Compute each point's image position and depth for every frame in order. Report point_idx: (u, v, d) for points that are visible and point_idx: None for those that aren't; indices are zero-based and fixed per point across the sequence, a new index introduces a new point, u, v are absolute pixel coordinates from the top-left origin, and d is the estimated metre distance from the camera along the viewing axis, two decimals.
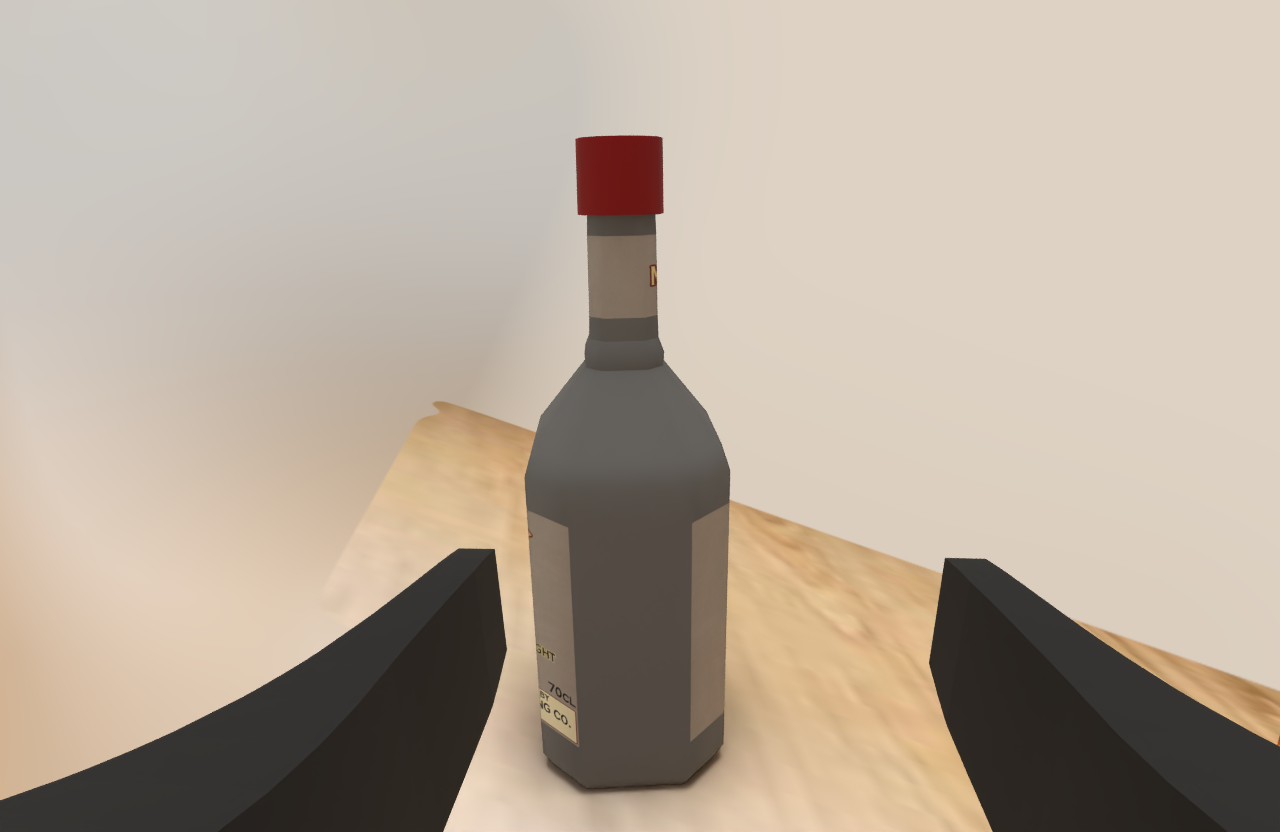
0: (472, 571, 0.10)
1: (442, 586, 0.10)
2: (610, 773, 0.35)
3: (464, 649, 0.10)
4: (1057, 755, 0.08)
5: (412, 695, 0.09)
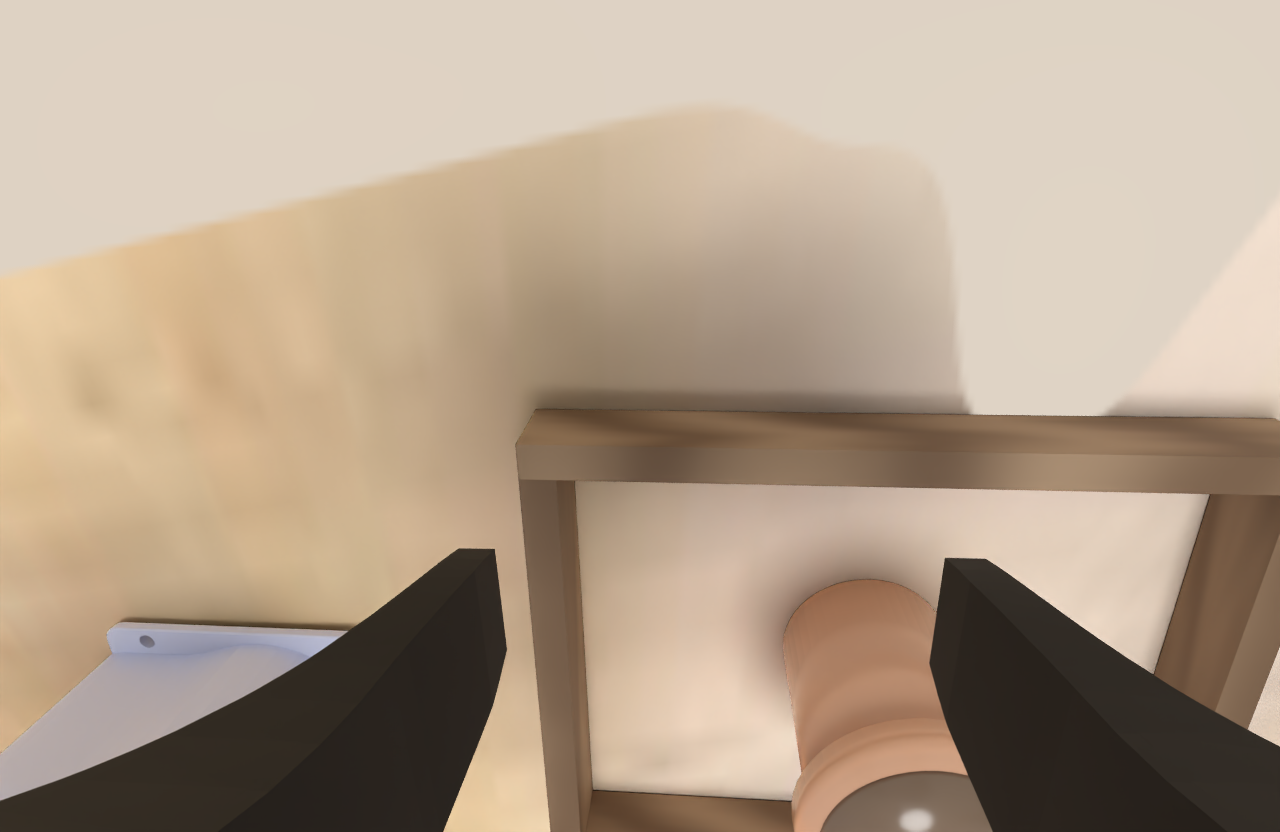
0: (472, 571, 0.10)
1: (442, 586, 0.10)
2: None
3: (464, 649, 0.10)
4: (1057, 755, 0.08)
5: (412, 695, 0.09)
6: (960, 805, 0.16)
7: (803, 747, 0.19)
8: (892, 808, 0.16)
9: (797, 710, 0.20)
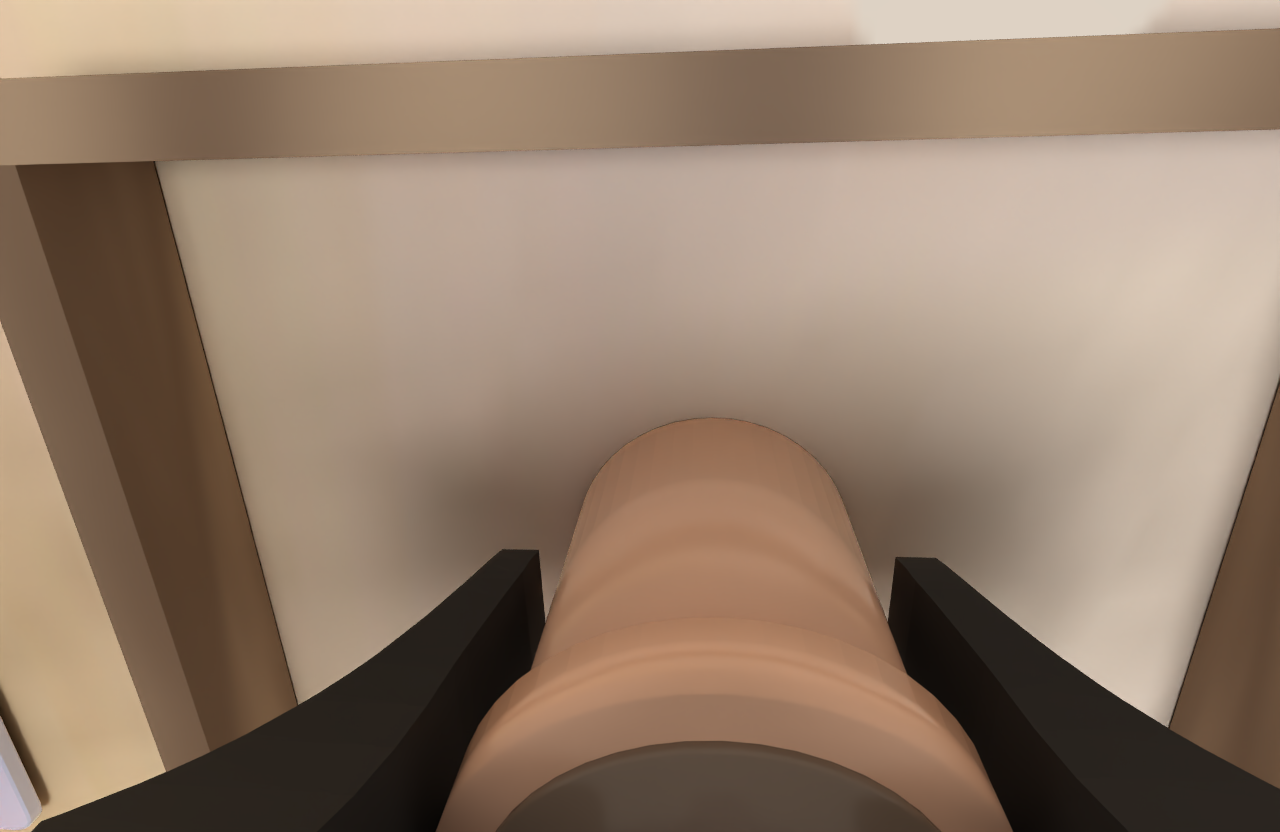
0: (520, 572, 0.10)
1: (492, 587, 0.10)
2: None
3: (513, 651, 0.10)
4: (987, 752, 0.08)
5: (470, 697, 0.09)
6: (787, 828, 0.06)
7: None
8: None
9: None
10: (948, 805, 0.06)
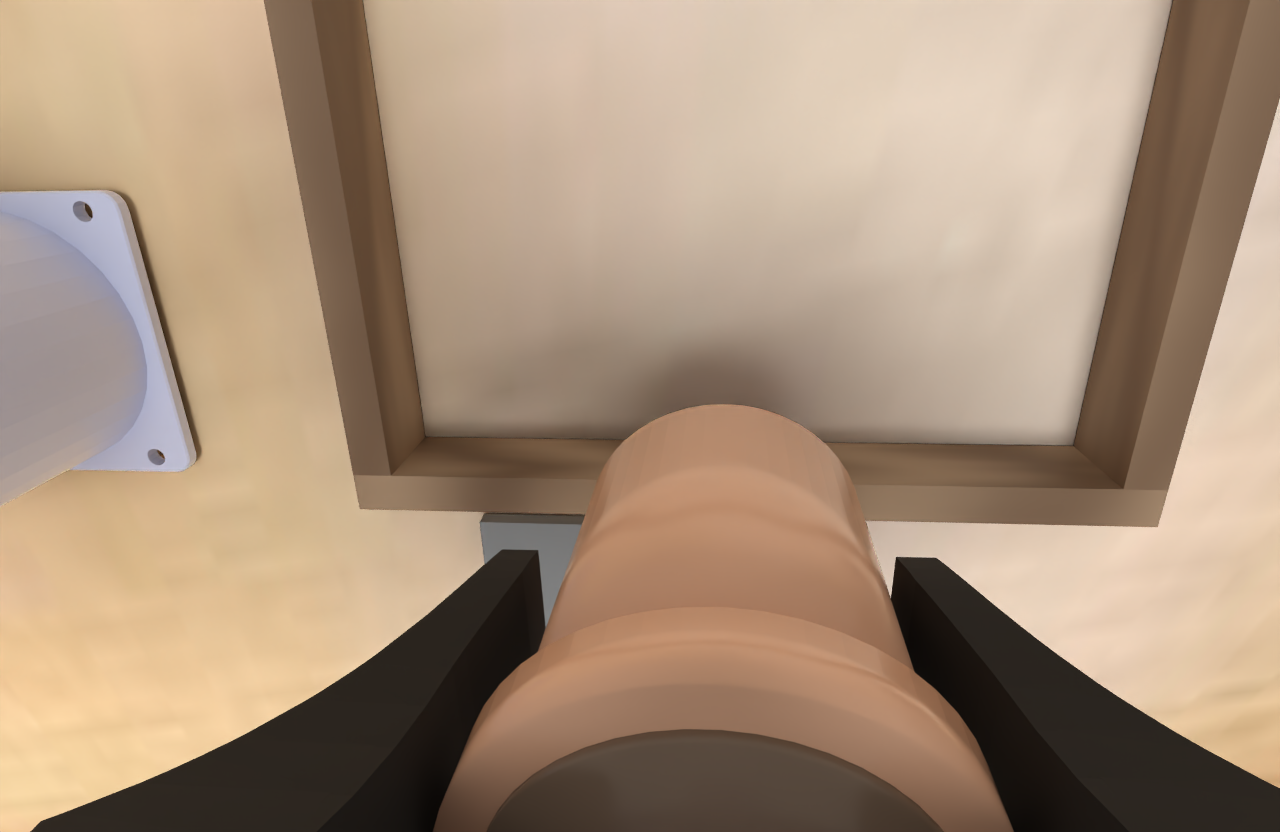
0: (520, 572, 0.10)
1: (492, 587, 0.10)
2: None
3: (513, 651, 0.10)
4: (988, 752, 0.08)
5: (469, 697, 0.09)
6: (782, 817, 0.06)
7: None
8: (620, 820, 0.07)
9: None
10: (945, 799, 0.06)
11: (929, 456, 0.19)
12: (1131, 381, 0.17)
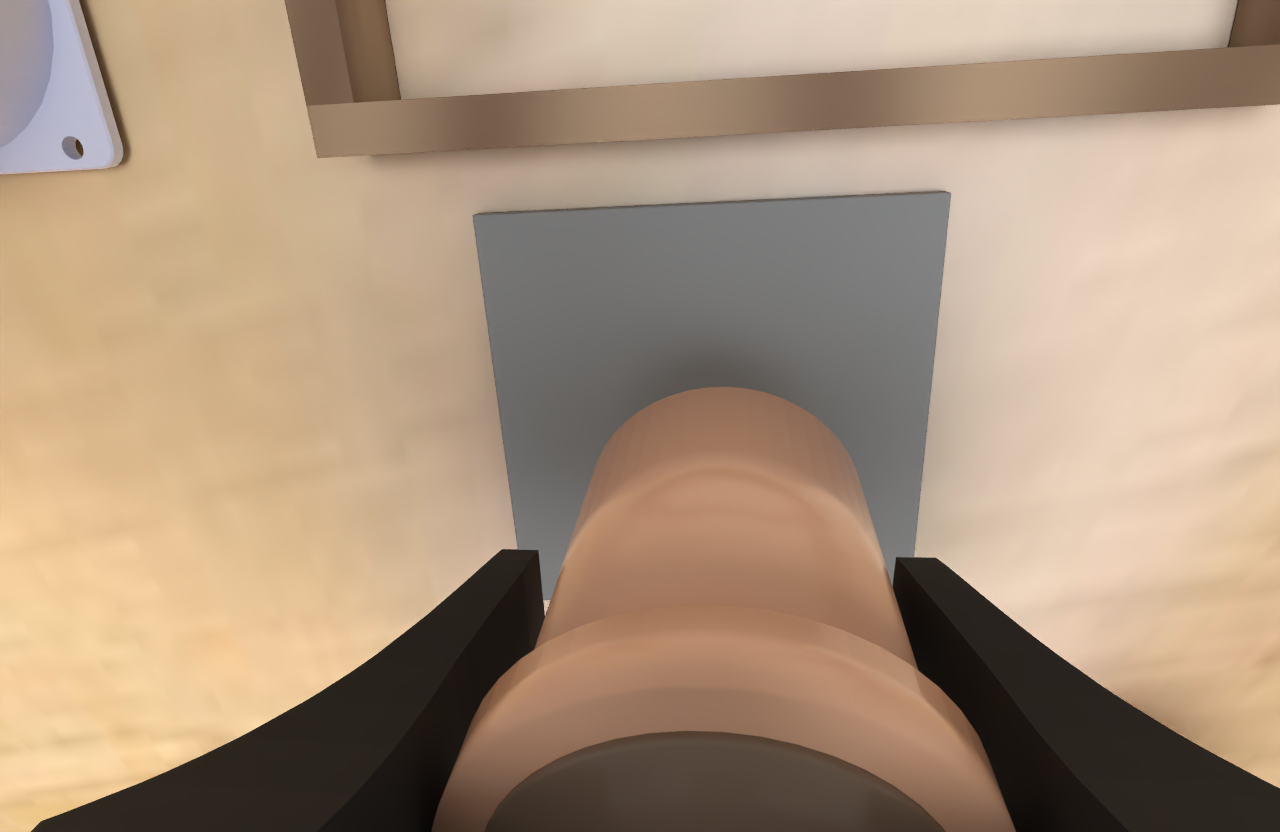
0: (520, 572, 0.10)
1: (492, 587, 0.10)
2: None
3: (513, 651, 0.10)
4: (988, 752, 0.08)
5: (469, 697, 0.09)
6: (785, 817, 0.06)
7: None
8: (619, 819, 0.06)
9: None
10: (948, 800, 0.06)
11: None
12: None
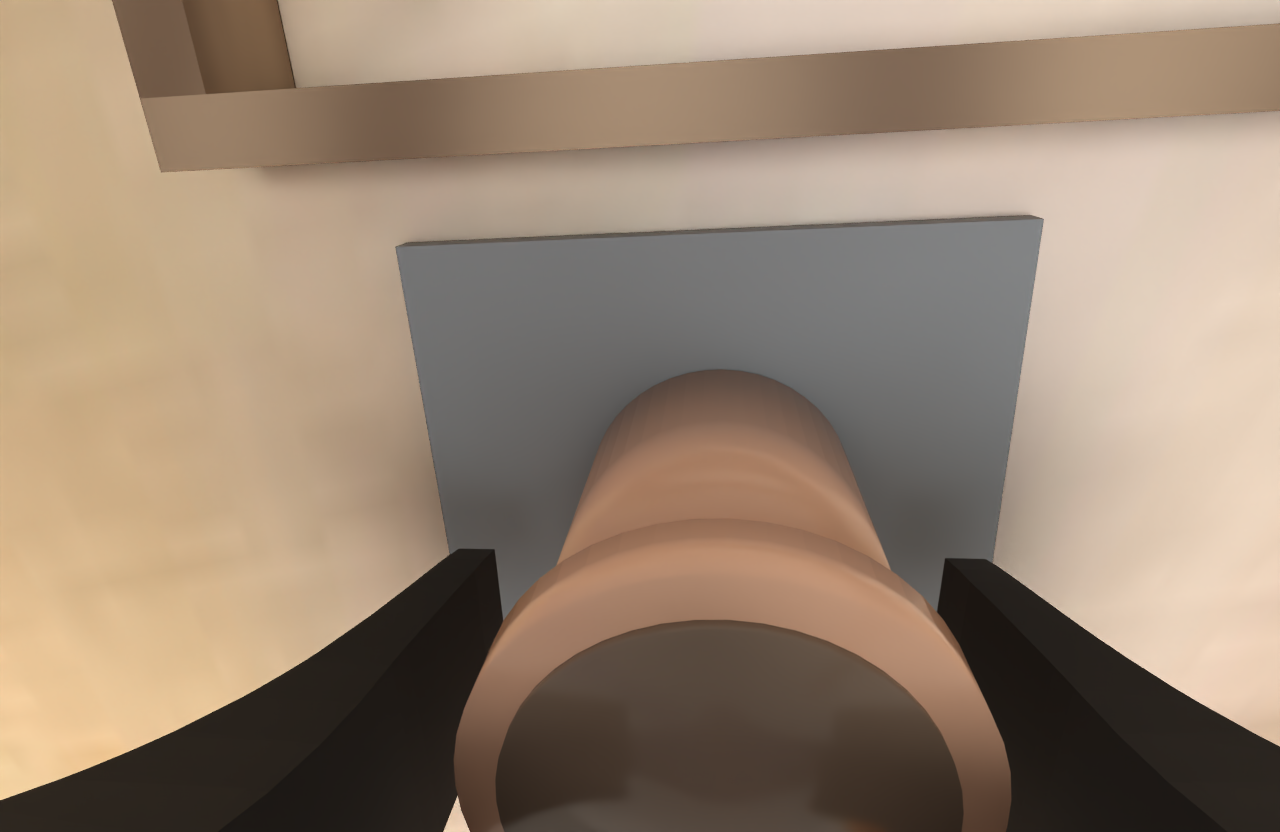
0: (472, 571, 0.10)
1: (442, 586, 0.10)
2: None
3: (464, 649, 0.10)
4: (1057, 755, 0.08)
5: (412, 695, 0.09)
6: (784, 701, 0.07)
7: None
8: (633, 711, 0.07)
9: None
10: (932, 684, 0.07)
11: None
12: None
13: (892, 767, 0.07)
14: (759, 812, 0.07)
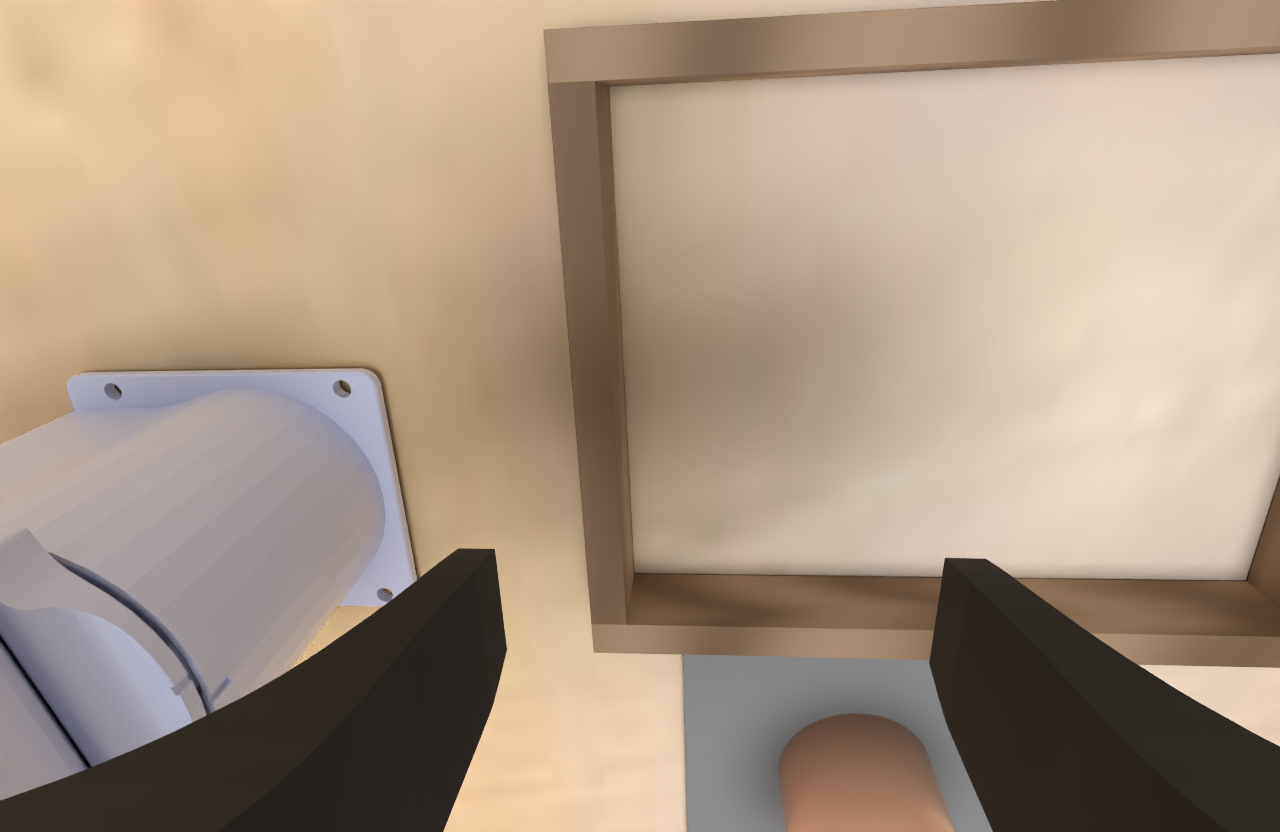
0: (472, 571, 0.10)
1: (442, 586, 0.10)
2: None
3: (464, 649, 0.10)
4: (1057, 755, 0.08)
5: (412, 695, 0.09)
6: None
7: None
8: None
9: None
10: None
11: (1116, 595, 0.21)
12: None
13: None
14: None
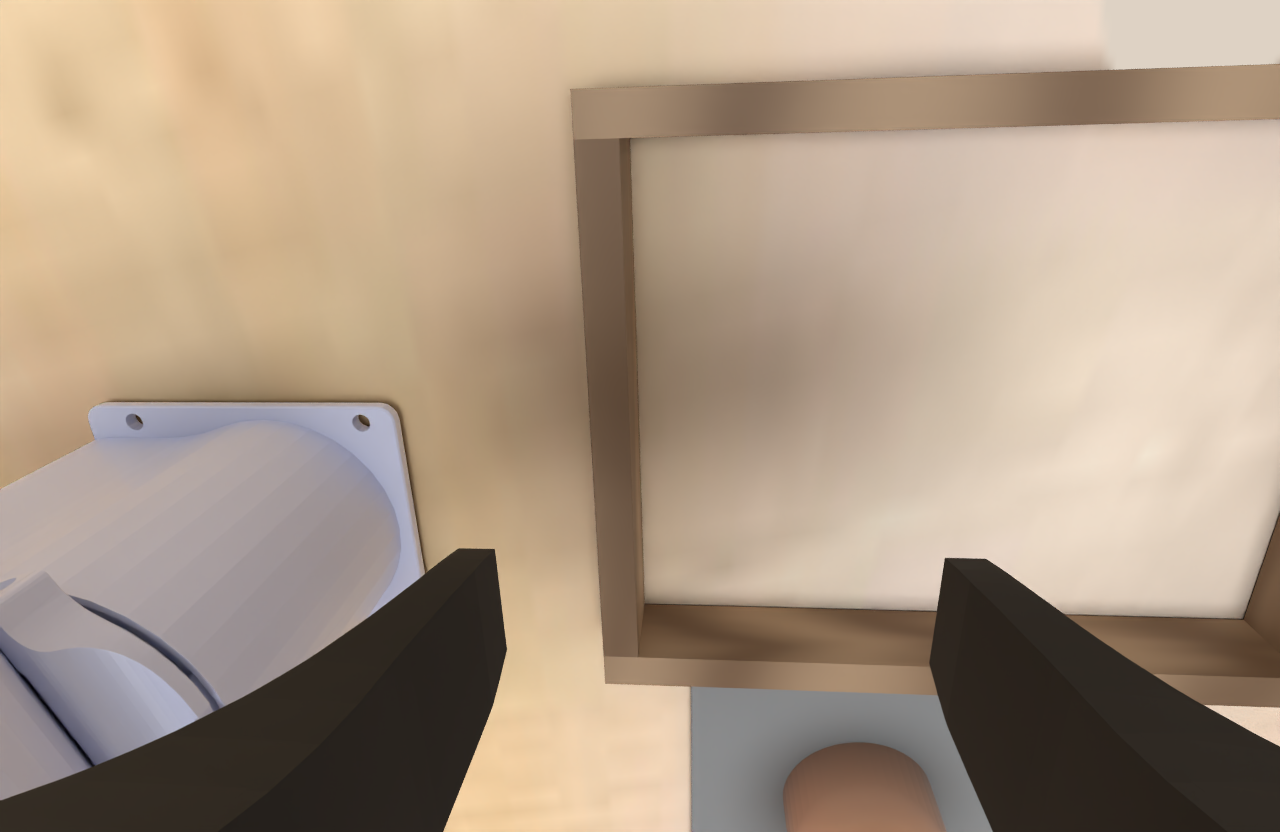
0: (472, 571, 0.10)
1: (442, 586, 0.10)
2: None
3: (464, 649, 0.10)
4: (1057, 755, 0.08)
5: (412, 695, 0.09)
6: None
7: None
8: None
9: None
10: None
11: (1117, 633, 0.21)
12: None
13: None
14: None
